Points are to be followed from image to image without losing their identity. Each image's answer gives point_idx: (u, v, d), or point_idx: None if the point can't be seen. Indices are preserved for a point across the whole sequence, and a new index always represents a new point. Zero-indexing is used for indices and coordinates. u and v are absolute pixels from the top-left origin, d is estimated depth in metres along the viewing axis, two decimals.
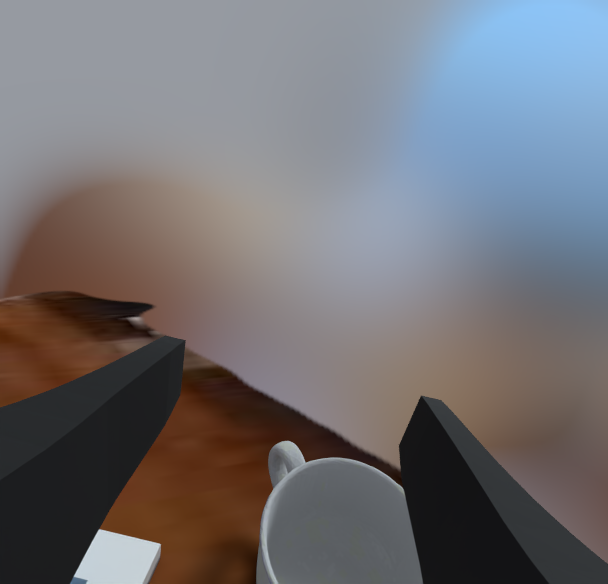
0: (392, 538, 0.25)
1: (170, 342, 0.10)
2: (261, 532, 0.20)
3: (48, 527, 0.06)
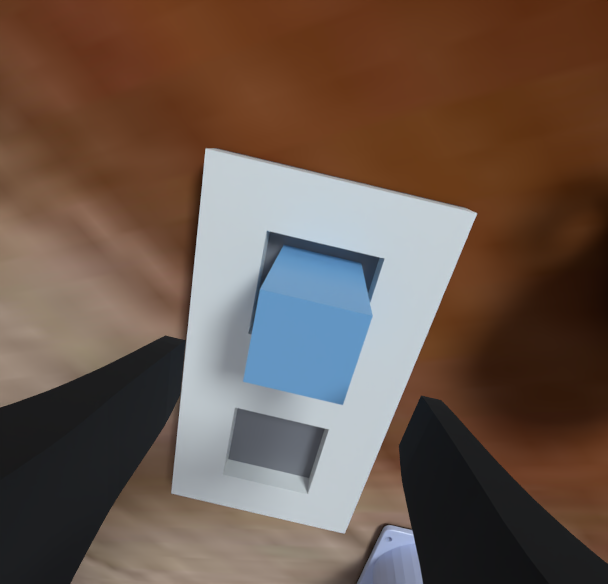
0: None
1: (170, 342, 0.10)
2: None
3: (48, 527, 0.06)
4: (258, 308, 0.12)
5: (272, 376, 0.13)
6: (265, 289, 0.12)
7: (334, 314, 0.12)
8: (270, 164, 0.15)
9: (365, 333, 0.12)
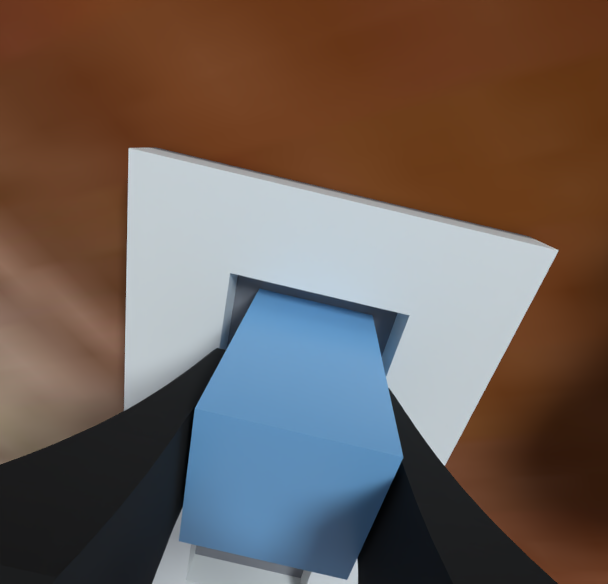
0: None
1: None
2: None
3: (140, 548, 0.06)
4: (195, 437, 0.07)
5: (227, 536, 0.08)
6: (205, 407, 0.07)
7: (332, 453, 0.07)
8: (232, 173, 0.10)
9: (388, 482, 0.07)
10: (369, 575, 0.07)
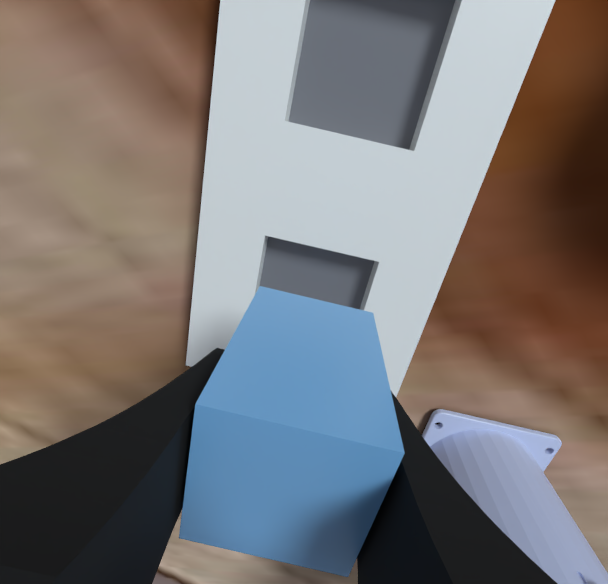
0: None
1: None
2: None
3: (140, 548, 0.06)
4: (195, 433, 0.07)
5: (227, 533, 0.08)
6: (206, 403, 0.07)
7: (334, 448, 0.07)
8: None
9: (390, 478, 0.07)
10: (369, 575, 0.07)
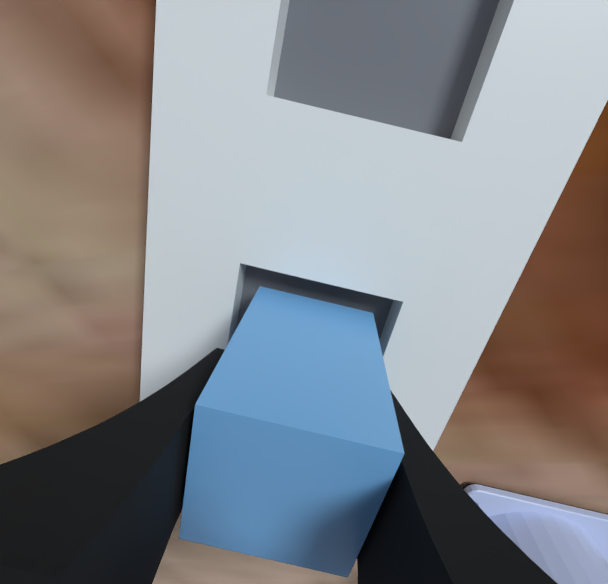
0: None
1: None
2: None
3: (140, 548, 0.06)
4: (195, 434, 0.07)
5: (227, 533, 0.08)
6: (206, 403, 0.07)
7: (333, 449, 0.07)
8: None
9: (389, 479, 0.07)
10: (369, 575, 0.07)
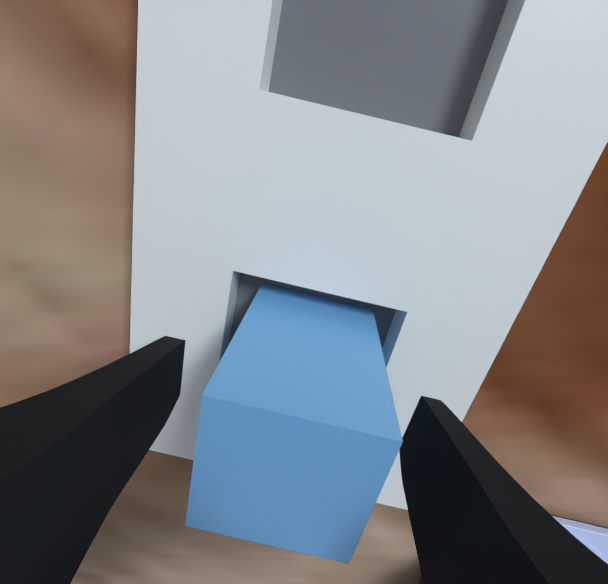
0: None
1: (170, 342, 0.10)
2: None
3: (48, 527, 0.06)
4: (202, 423, 0.07)
5: (232, 521, 0.08)
6: (212, 394, 0.07)
7: (334, 437, 0.07)
8: None
9: (389, 466, 0.07)
10: None
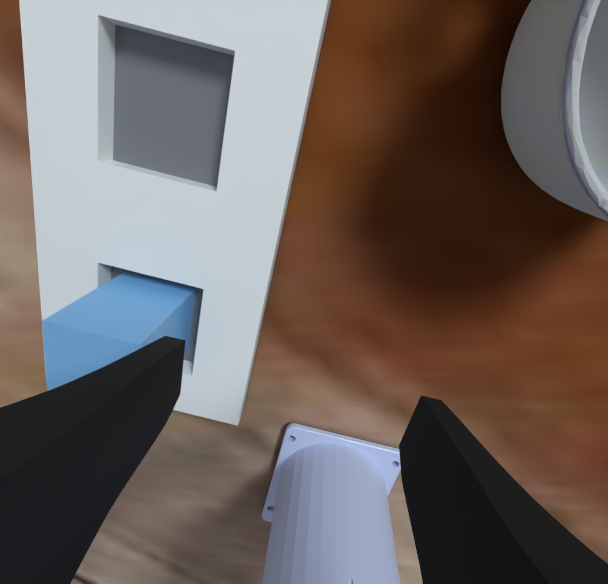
0: None
1: (170, 342, 0.10)
2: (581, 26, 0.08)
3: (48, 527, 0.06)
4: (45, 336, 0.14)
5: None
6: (48, 320, 0.14)
7: (108, 343, 0.14)
8: None
9: None
10: None
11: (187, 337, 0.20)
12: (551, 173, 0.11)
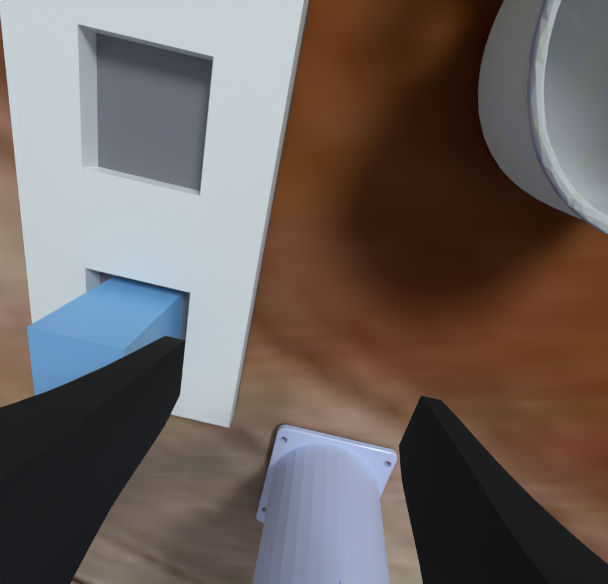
0: None
1: (170, 342, 0.10)
2: (542, 28, 0.08)
3: (48, 527, 0.06)
4: (31, 342, 0.14)
5: None
6: (33, 326, 0.14)
7: (93, 348, 0.14)
8: None
9: None
10: None
11: None
12: (525, 173, 0.11)
